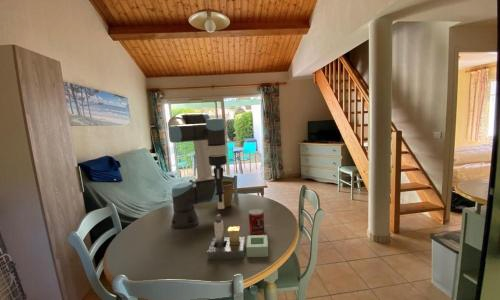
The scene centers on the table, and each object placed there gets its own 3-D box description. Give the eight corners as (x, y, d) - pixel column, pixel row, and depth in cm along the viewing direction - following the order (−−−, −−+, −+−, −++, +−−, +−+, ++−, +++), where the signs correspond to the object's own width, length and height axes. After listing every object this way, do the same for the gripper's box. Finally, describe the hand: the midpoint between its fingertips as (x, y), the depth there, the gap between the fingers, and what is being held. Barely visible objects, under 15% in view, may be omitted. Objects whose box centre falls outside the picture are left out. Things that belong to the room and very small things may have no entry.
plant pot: (239, 203, 165) (238, 181, 163) (226, 210, 153) (224, 187, 151) (223, 200, 173) (221, 179, 171) (209, 207, 161) (207, 184, 159)
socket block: (213, 244, 111) (213, 237, 111) (245, 243, 111) (244, 236, 110) (207, 259, 99) (207, 251, 99) (243, 258, 99) (242, 250, 98)
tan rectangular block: (230, 248, 107) (228, 226, 106) (241, 247, 107) (239, 226, 105) (229, 253, 103) (227, 230, 102) (240, 252, 103) (239, 230, 101)
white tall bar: (217, 249, 107) (214, 213, 105) (225, 248, 107) (223, 213, 105) (215, 254, 103) (212, 217, 101) (224, 253, 103) (221, 216, 101)
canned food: (252, 236, 117) (250, 215, 116) (248, 229, 125) (246, 209, 124) (266, 233, 119) (265, 212, 118) (261, 227, 127) (260, 207, 126)
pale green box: (248, 244, 110) (247, 235, 109) (267, 244, 109) (267, 234, 109) (247, 257, 100) (246, 247, 99) (268, 256, 99) (267, 246, 99)
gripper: (209, 153, 106) (213, 203, 109) (207, 158, 93) (211, 214, 96) (226, 152, 107) (229, 202, 110) (226, 156, 94) (229, 213, 97)
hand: (221, 208), depth 103 cm, fingers closed
